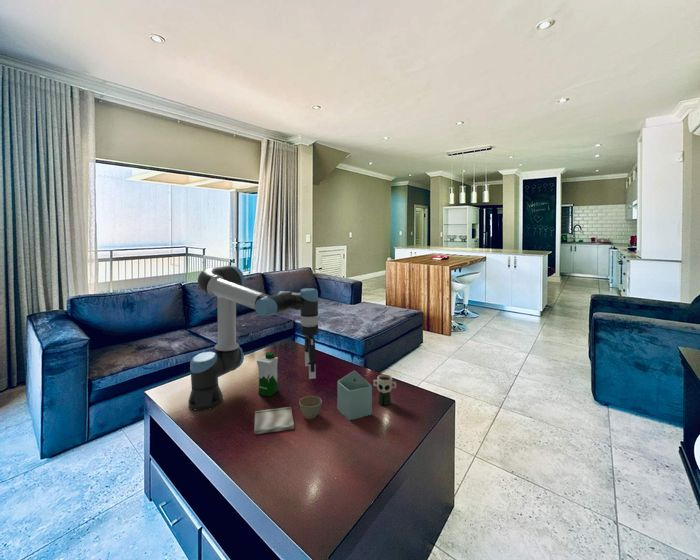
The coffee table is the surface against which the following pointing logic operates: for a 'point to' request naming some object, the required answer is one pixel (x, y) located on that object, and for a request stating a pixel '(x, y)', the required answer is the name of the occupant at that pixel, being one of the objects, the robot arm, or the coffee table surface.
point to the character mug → (384, 388)
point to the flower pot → (310, 406)
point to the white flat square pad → (273, 420)
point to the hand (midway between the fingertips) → (310, 371)
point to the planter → (354, 396)
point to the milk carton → (268, 374)
